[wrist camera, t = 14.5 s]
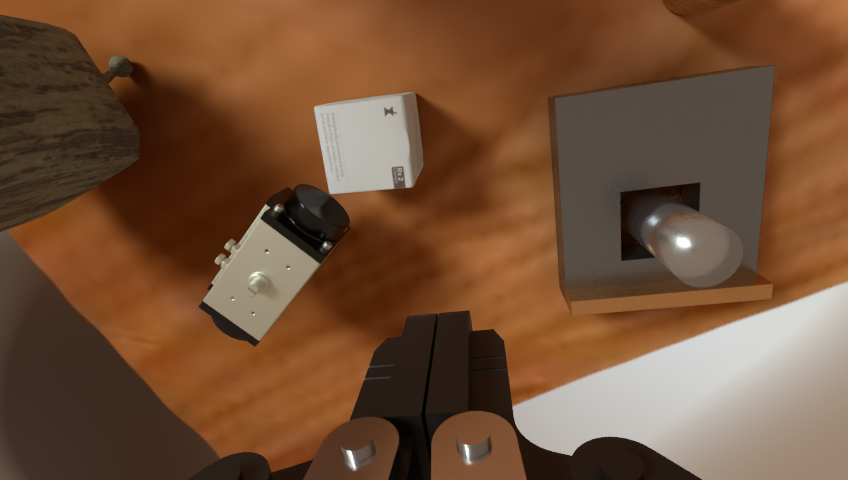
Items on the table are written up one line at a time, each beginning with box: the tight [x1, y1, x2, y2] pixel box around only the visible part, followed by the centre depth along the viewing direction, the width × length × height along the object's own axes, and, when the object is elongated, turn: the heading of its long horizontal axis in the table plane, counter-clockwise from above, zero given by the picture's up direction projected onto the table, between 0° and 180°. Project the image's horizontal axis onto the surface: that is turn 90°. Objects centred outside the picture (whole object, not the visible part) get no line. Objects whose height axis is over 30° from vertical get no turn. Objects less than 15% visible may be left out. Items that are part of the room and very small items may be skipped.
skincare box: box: [314, 92, 424, 194], centre depth 33 cm, size 6×6×7 cm
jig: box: [548, 65, 775, 316], centre depth 33 cm, size 16×14×5 cm
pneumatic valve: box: [199, 184, 350, 346], centre depth 34 cm, size 6×12×12 cm, turn 141°
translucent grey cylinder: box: [620, 188, 743, 287], centre depth 31 cm, size 4×4×10 cm
